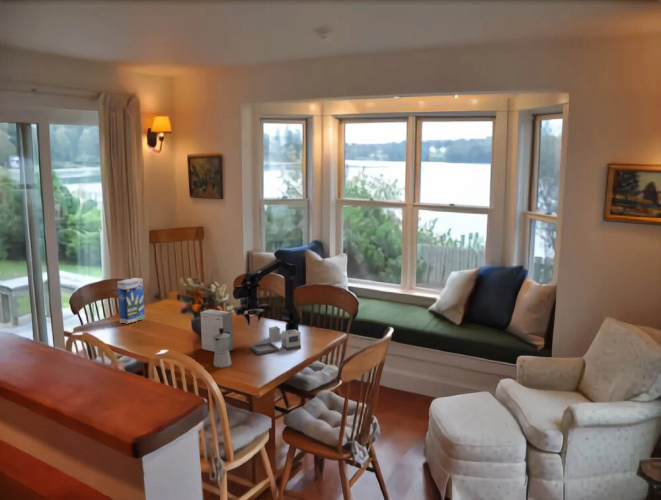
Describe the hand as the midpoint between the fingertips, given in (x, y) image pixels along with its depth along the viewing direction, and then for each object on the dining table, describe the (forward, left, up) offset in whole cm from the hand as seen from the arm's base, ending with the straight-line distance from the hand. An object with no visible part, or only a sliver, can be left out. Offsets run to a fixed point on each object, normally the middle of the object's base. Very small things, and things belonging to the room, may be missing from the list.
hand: (252, 324), depth 300 cm
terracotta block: (0, 0, -1) cm, 1 cm away
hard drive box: (+20, +1, -10) cm, 23 cm away
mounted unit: (-15, +16, -10) cm, 24 cm away
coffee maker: (+23, +22, -10) cm, 33 cm away
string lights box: (+51, -71, -10) cm, 88 cm away
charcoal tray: (-2, +13, -10) cm, 17 cm away
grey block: (-13, -2, -10) cm, 17 cm away
